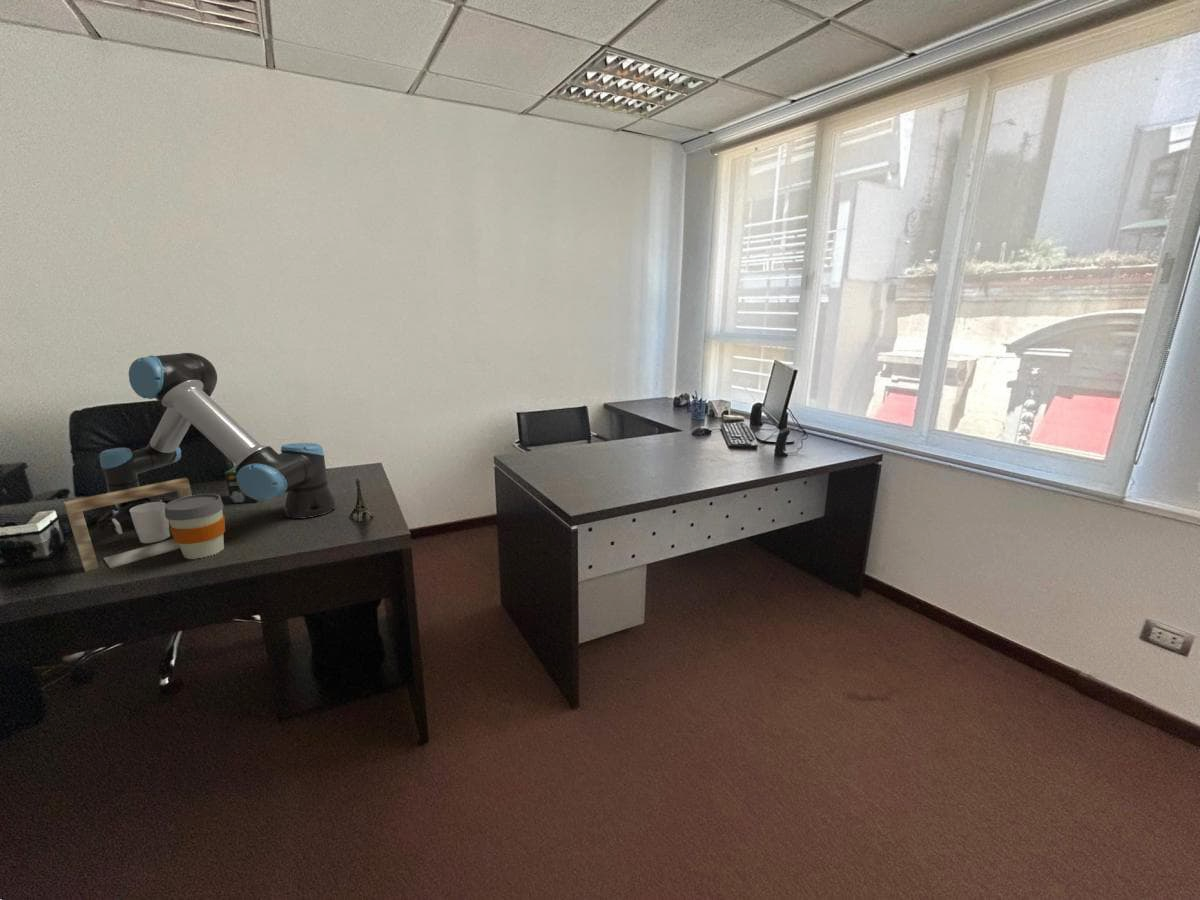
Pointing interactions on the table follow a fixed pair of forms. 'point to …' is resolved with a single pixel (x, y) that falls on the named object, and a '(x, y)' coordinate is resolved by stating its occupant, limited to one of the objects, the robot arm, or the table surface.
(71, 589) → the table surface
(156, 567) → the table surface
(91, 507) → the bridge
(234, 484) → the chalk box
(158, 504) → the white cup
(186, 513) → the reusable coffee cup
